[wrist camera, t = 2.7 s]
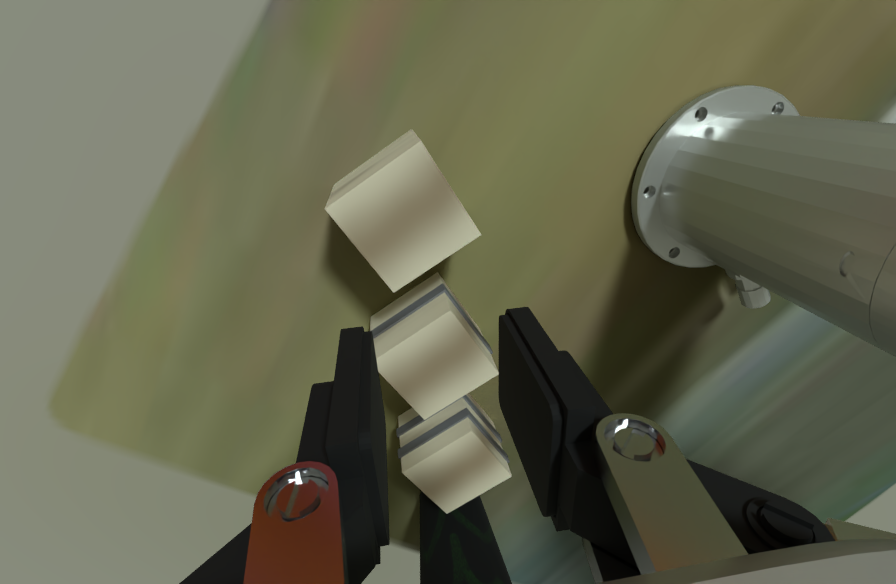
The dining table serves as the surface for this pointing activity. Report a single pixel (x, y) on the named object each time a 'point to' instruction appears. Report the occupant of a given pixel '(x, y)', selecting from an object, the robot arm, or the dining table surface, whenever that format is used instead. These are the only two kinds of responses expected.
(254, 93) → the dining table surface
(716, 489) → the robot arm
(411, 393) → the banded block one
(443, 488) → the banded block two
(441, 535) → the cup
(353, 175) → the plain block
